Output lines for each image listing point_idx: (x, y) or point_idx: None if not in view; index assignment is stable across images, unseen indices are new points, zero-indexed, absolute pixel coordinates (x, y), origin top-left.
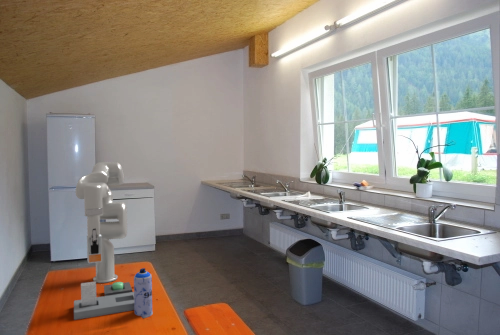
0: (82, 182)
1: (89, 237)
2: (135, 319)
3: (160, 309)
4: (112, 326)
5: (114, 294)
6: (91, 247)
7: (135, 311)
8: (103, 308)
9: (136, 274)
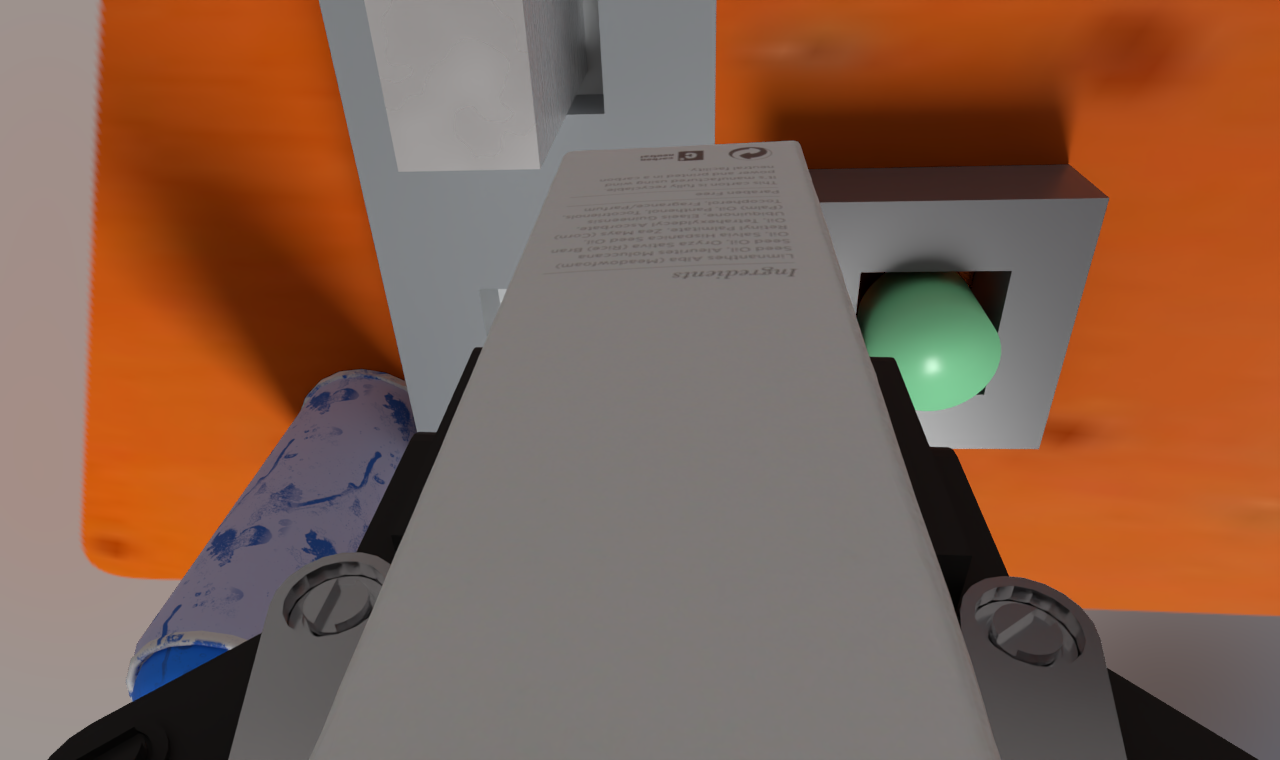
0: None
1: None
2: (287, 369)
3: None
4: (172, 195)
5: None
6: (421, 490)
7: (320, 401)
8: (357, 159)
9: None
